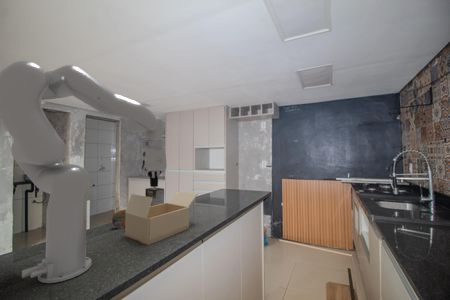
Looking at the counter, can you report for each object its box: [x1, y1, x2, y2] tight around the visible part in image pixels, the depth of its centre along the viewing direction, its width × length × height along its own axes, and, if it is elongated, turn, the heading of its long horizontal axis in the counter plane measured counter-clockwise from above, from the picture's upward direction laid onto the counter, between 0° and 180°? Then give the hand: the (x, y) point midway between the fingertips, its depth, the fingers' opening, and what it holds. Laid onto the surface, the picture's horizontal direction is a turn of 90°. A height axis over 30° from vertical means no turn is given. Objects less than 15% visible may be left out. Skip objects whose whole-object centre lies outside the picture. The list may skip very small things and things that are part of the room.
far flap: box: [168, 191, 198, 208], centre depth 103 cm, size 8×14×1 cm
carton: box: [124, 202, 190, 246], centre depth 91 cm, size 22×17×10 cm
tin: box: [111, 209, 126, 230], centre depth 99 cm, size 15×3×8 cm, turn 129°
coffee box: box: [144, 187, 165, 206], centre depth 113 cm, size 9×6×16 cm
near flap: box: [125, 193, 153, 219], centre depth 83 cm, size 8×14×1 cm
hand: (154, 186), depth 89 cm, fingers closed
